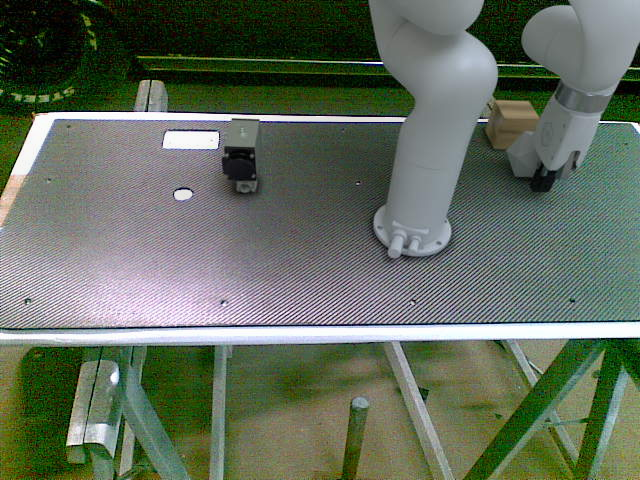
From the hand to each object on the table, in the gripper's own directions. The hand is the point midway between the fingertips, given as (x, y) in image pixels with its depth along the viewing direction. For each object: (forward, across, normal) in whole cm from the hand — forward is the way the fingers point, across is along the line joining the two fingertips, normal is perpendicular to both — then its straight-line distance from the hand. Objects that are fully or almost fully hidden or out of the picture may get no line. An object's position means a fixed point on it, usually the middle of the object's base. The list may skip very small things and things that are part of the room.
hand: (538, 189), depth 85 cm
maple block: (+1, -18, -1) cm, 18 cm away
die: (+2, -7, 0) cm, 7 cm away
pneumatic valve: (+1, 0, -52) cm, 52 cm away
